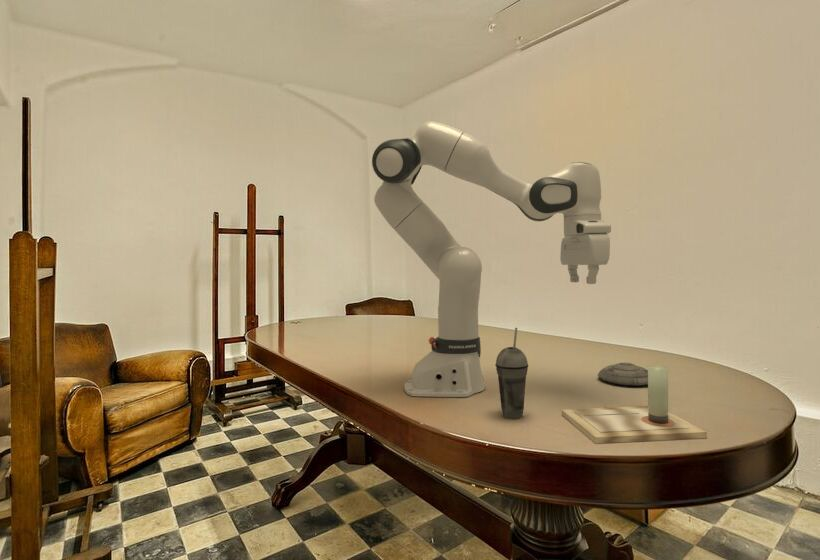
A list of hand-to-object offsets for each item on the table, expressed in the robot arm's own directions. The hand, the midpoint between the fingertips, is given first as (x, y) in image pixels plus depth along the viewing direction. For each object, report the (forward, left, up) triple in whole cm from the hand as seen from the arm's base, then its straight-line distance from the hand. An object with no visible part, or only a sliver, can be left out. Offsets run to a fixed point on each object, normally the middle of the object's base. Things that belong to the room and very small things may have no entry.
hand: (582, 283), depth 113 cm
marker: (+5, -23, -27) cm, 36 cm away
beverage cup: (-22, -12, -29) cm, 38 cm away
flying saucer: (+18, +12, -29) cm, 37 cm away
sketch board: (0, -21, -29) cm, 36 cm away
